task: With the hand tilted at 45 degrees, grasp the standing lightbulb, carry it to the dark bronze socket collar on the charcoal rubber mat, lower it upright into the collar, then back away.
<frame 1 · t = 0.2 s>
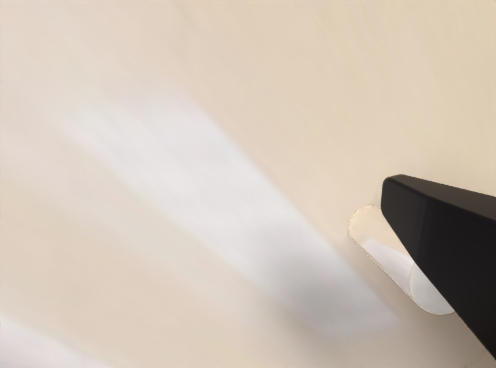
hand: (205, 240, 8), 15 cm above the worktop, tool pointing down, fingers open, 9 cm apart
milkshake: (369, 222, 28), on the worktop
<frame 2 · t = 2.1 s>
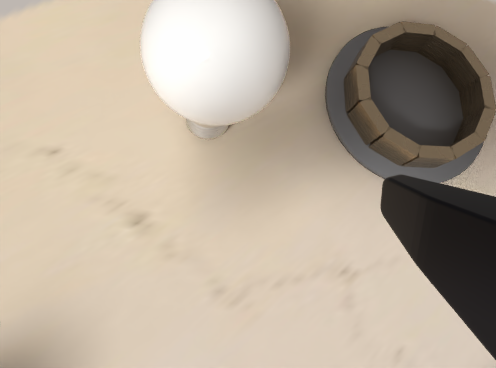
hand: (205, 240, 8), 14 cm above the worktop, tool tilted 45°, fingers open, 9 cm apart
socket mat: (406, 104, 26), on the worktop
lightbulb: (207, 124, 24), on the worktop
socket collar: (406, 104, 26), resting on socket mat
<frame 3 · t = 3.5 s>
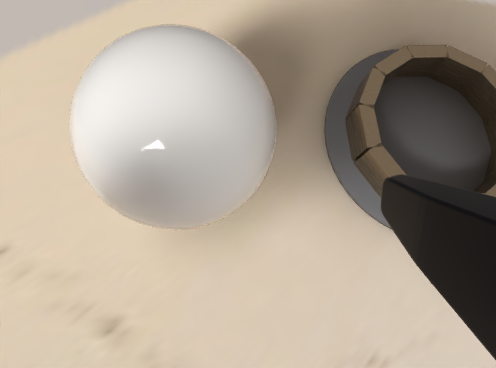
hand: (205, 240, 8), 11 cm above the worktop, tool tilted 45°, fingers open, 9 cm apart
socket mat: (421, 139, 22), on the worktop
lightbulb: (186, 193, 20), on the worktop
socket collar: (421, 139, 22), resting on socket mat
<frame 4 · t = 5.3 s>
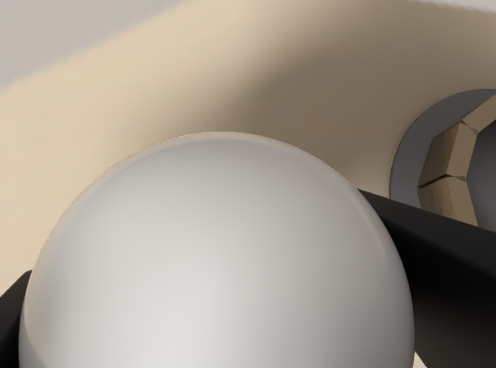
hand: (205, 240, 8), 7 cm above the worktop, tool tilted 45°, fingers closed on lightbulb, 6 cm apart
lightbulb: (210, 297, 14), on the worktop, touching gripper
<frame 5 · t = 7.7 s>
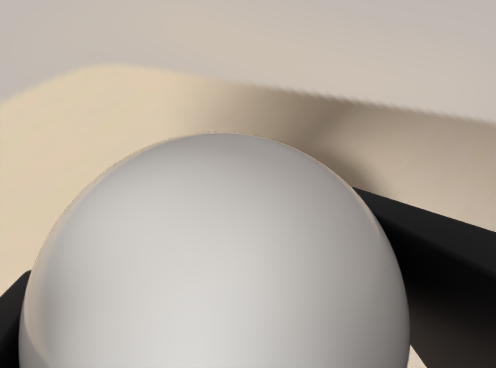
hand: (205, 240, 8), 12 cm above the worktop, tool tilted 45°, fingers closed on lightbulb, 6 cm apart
lightbulb: (209, 295, 14), point 5 cm above the worktop, touching gripper
when the fingers open (8 cm above the worktop, at t = 10.3 s): lightbulb stays where it is, resting on socket mat.
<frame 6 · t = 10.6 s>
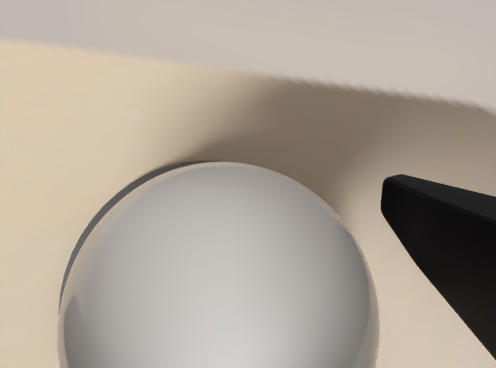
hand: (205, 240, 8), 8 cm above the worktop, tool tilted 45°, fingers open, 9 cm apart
socket mat: (210, 295, 16), on the worktop
lightbulb: (206, 300, 16), resting on socket mat
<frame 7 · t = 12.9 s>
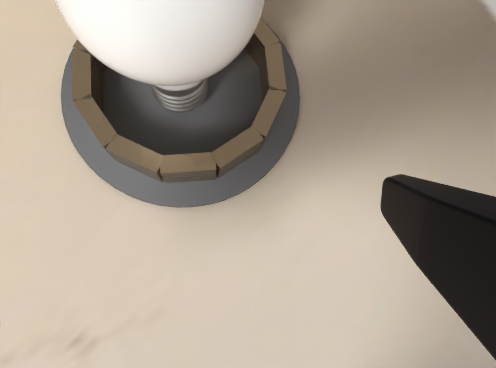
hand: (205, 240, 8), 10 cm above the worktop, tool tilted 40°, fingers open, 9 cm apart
socket mat: (184, 93, 19), on the worktop
lightbulb: (181, 95, 19), resting on socket mat
socket collar: (184, 93, 19), resting on socket mat
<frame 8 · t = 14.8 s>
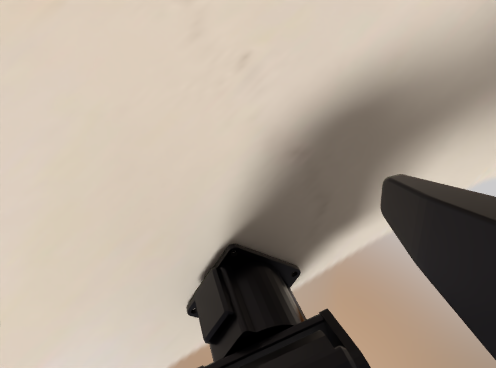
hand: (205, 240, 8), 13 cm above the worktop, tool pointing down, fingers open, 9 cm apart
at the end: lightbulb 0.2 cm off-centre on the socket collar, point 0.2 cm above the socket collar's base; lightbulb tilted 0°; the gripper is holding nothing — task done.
